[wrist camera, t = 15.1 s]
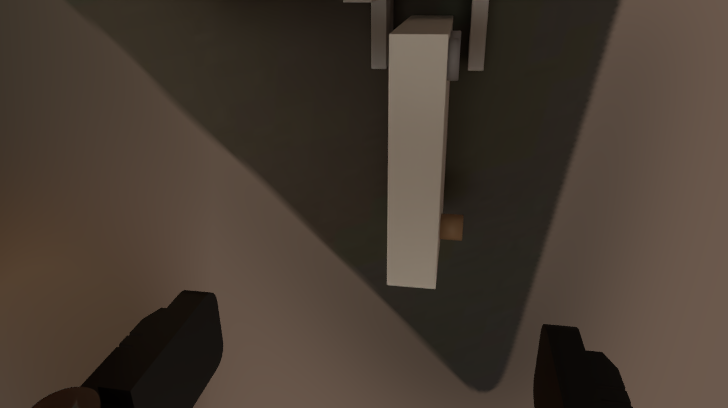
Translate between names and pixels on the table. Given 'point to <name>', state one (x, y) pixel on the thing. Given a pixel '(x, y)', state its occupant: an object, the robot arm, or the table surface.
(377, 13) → the cabinet
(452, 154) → the table surface
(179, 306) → the robot arm
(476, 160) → the table surface
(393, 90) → the door
